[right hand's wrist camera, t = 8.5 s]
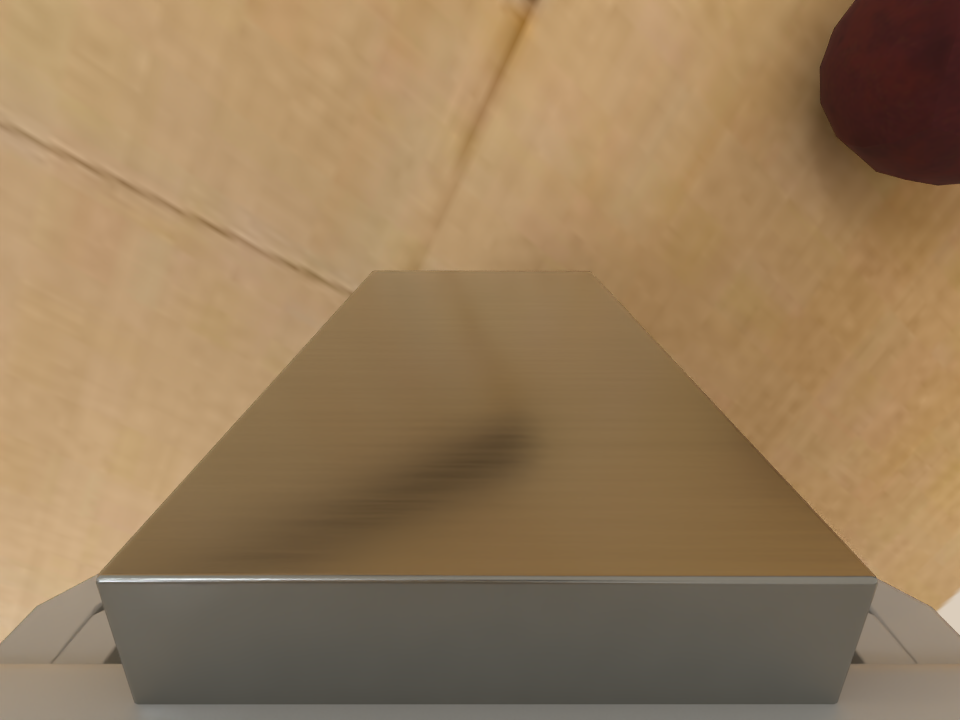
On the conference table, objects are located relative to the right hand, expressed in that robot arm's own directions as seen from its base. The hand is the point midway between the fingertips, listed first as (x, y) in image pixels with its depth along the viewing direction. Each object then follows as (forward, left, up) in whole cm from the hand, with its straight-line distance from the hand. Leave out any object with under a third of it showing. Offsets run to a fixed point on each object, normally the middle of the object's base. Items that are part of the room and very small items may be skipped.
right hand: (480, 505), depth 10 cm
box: (+8, 0, -7) cm, 11 cm away
